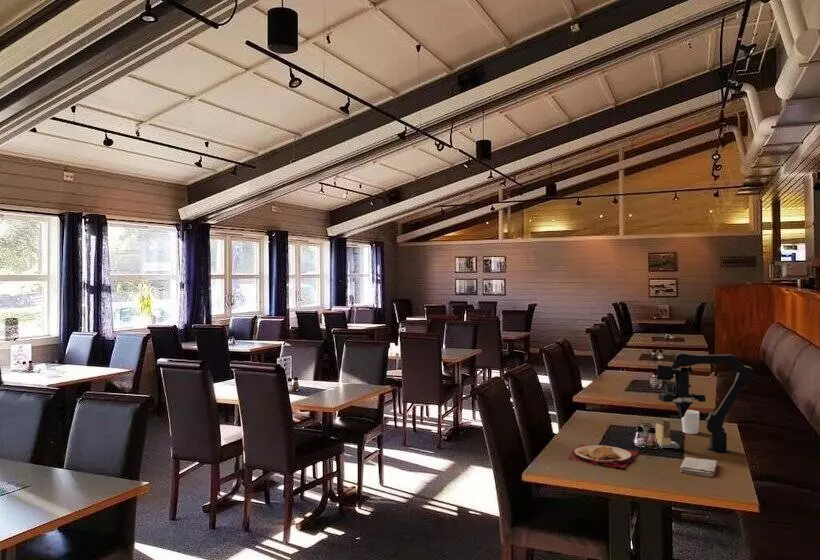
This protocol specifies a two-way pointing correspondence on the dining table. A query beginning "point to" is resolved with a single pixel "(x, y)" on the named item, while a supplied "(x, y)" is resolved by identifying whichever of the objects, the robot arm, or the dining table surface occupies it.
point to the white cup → (690, 422)
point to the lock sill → (664, 441)
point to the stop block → (665, 426)
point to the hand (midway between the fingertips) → (681, 417)
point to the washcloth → (699, 466)
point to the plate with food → (603, 455)
